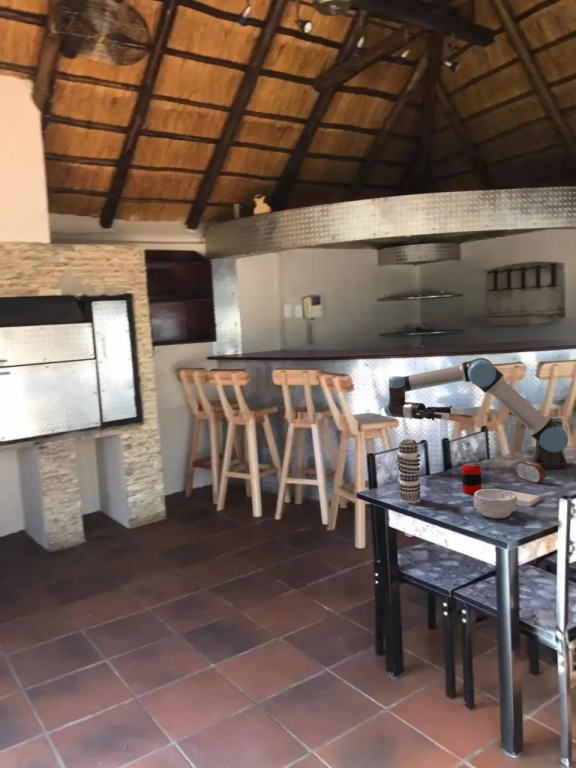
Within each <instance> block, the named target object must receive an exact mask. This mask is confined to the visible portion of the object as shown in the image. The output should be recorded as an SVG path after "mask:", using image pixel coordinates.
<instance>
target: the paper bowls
mask: <svg viewBox="0 0 576 768" xmlns="http://www.w3.org/2000/svg"><path fill="white" fill-rule="evenodd" d="M510 491H511V490H506V489H499V488H485V489H483V488H481V490H478V491H476V492H475V493H474V495H473V505H474V508H475V509H477V510H479V512H480V514H481V515H482V516H483V517H487V518H490V519H506V518H508V517H510V515H511V514H512V513H513V512H515V511H517V510H518V504H517V495H516V494H515V493H513V492H510Z"/></svg>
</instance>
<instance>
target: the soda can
mask: <svg viewBox="0 0 576 768" xmlns="http://www.w3.org/2000/svg"><path fill="white" fill-rule="evenodd" d="M461 474H462V476H461V478H462V479H461V480H462V481H461V482H462V492H463V493H464V494H465V495H467V496H468V495H470V496H474V493H475V492H476V491H478V490H482V467H481V466H480V465H479V463H477V462H466V463H464V464H463V465H462V466H461Z"/></svg>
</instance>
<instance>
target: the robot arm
mask: <svg viewBox="0 0 576 768" xmlns="http://www.w3.org/2000/svg"><path fill="white" fill-rule="evenodd" d="M504 376H505V375H504V374H503V373H502V372H501V370H499V369H498V368H497V367H496V366H494V364H493V363H492V361H490V360H489V359H487V358H485V357H478V358H475V359H472V360H468V361H465V362H461V363H460V365H456V366H449V367H445V368H441V369H437V370H436V369H435V370H430V371H425V372H420V373H416V374H410V375H405V376H401V375H399V376H396V375H395V376H389V378H388V393H389V394H388V395H389V400H387V401H386V402H385V404H384V407H383V408H384V413H385V414H386V416H388V417H393V418H402V419H409V420H412V419H415V420H423V419H426V420H432V421H435V420H437V419H438V420H445V421H447V420H448V421H449V420H450V414H451V415H461V416H463V415H465V408H462V407H461V408H459V407H453V406H452V405H450V406H427V407H426V405H425V404H424V403H423V402H411V401H410V402H409V401H406V393H407V392H411V391H417V390H421V389H426V388H431V387H438V386H442V385H449V384H452V383H453V384H454V383H459V382H464V383H469V382H470V383H471V384H473V385H474V386H476V387H477V388H479V389H480V390H481V391H482V393H484V394H490V395H491V396H493V397H494V398H495V399H496V400H497V401H498V402H499V403H500V404H501V405H502V406H503V407H504V408H506V410H507V411H509V412H510V413H511V414H512V415H514V417H515V418H516V419H517V420H518V421H520V422H521V424H523V425H524V426H525V427H526V428H527V429H529V435H530V436H531V437H532V438H533V439H534V440H535V450H534V453H533V456H532V459H531V462H533V463H537V464H539V465H540V466H541V467H542V468H543V470H558V469H559V470H561V469H564V468H567V466H568V465H567V463H568V462H567V458H566V456H565V452H564V450H565V448H566V447H567V445H568V443H569V437H568V433H567V431H566V430H565V429H564V428H563V424H564V422H563V419H562V417H558V416H557V417H556V416H555V417H554V416H553V417H552V416H545V415H544V414H542V413H541V412H540V411H539V410H538V409H537V408H535V407H534V406H533V405H532V404H531V403H530V402H529V401H528V400H527V399H526V398H524V397H523V395H521V394H520V393H519V392H518V391H517V390H516V389H514V388H513V386H511V385H510V384H509V383H508V382H507V381H506V380H505V378H504Z"/></svg>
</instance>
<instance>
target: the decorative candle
mask: <svg viewBox="0 0 576 768" xmlns="http://www.w3.org/2000/svg"><path fill="white" fill-rule="evenodd" d="M397 446H398V454H397V455H396V458H397V462H398V463H397V468H398V473H399V485H398V486H399V492H398V493H399V499H400V498H401V499H402V500H403V501H404V502H405V501H406V502H409V503H411V502H412V504H415V503H414V502H418V503H420V502H421V501H422V500H421V483H420V475H419V474H420V473H421V471H420V470H421V468H420V467H419V466H420V465H421V464H420V462H421V459H419V458H420V457H421V454H419V450H418V449H419V447H418V446H419V443H418V442H417V441H416V440H415V439H411V438H409V439H408V438H407V439H402V440H401V441H400V442H399V443H398V444H397ZM420 500H421V501H420ZM419 501H420V502H419ZM409 503H408V504H409Z"/></svg>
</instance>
